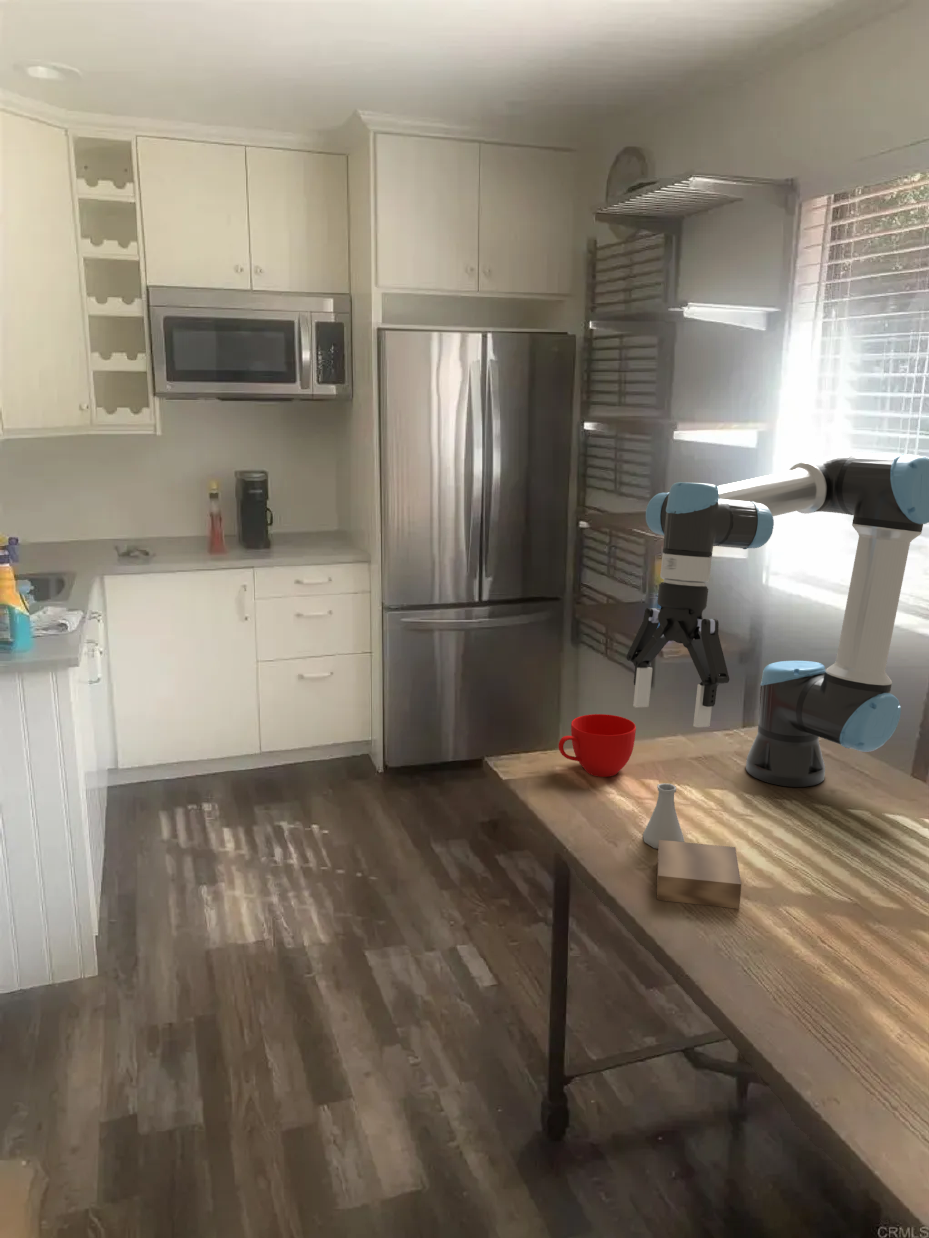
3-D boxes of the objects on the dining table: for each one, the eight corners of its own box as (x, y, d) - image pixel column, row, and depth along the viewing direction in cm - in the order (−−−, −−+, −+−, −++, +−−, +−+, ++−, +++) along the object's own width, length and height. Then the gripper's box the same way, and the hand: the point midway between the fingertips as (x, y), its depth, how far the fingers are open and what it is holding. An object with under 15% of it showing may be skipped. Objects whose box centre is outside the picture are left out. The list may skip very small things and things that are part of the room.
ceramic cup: (541, 768, 189) (542, 722, 186) (608, 755, 196) (610, 710, 194) (576, 791, 178) (578, 742, 175) (647, 776, 185) (649, 729, 183)
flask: (675, 830, 161) (678, 777, 159) (692, 849, 154) (695, 793, 152) (636, 833, 160) (638, 779, 158) (651, 852, 153) (654, 796, 151)
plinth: (733, 869, 148) (735, 847, 147) (739, 908, 136) (741, 884, 135) (657, 862, 150) (658, 839, 149) (656, 899, 138) (658, 875, 138)
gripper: (613, 574, 152) (601, 700, 154) (727, 591, 130) (711, 737, 133) (647, 575, 155) (635, 698, 158) (763, 592, 134) (747, 734, 137)
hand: (669, 716), depth 145 cm, fingers open, 13 cm apart
